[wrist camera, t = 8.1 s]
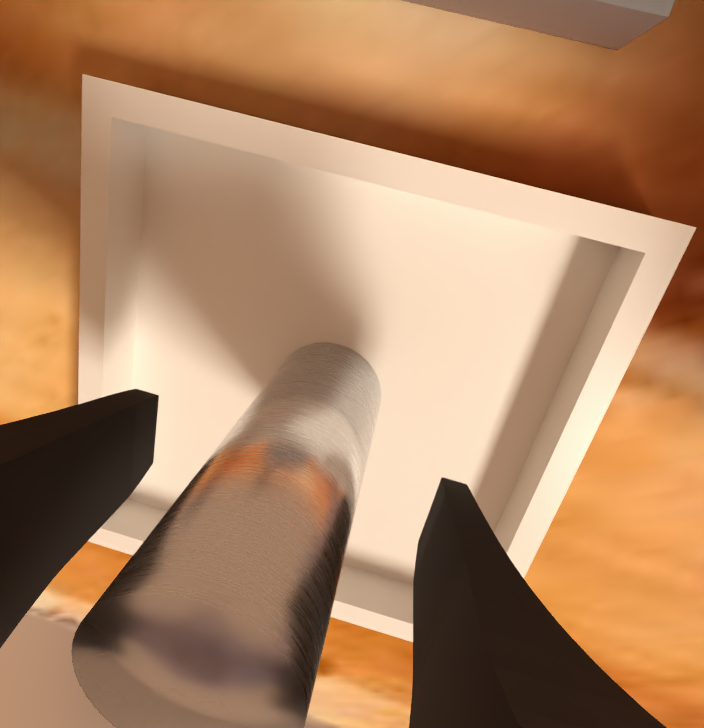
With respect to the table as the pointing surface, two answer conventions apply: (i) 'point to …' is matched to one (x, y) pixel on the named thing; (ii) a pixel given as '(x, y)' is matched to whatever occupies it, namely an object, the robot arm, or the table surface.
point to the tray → (354, 315)
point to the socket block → (568, 16)
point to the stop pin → (241, 563)
